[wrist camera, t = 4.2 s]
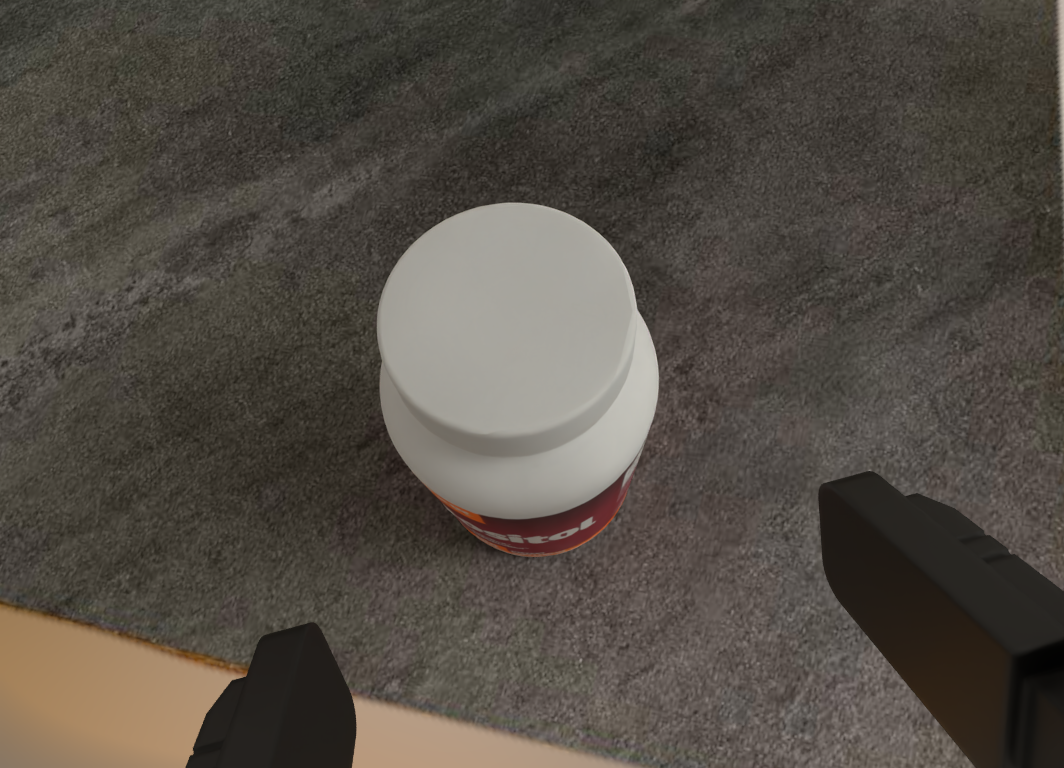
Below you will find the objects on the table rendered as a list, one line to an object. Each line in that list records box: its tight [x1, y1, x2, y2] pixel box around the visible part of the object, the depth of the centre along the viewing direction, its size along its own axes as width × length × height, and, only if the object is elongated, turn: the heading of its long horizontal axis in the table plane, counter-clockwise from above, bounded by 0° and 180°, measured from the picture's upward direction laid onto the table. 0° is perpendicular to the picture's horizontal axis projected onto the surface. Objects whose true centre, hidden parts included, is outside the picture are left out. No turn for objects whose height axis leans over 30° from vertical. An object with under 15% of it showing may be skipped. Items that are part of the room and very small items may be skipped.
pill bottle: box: [377, 203, 659, 557], centre depth 17 cm, size 6×6×11 cm
